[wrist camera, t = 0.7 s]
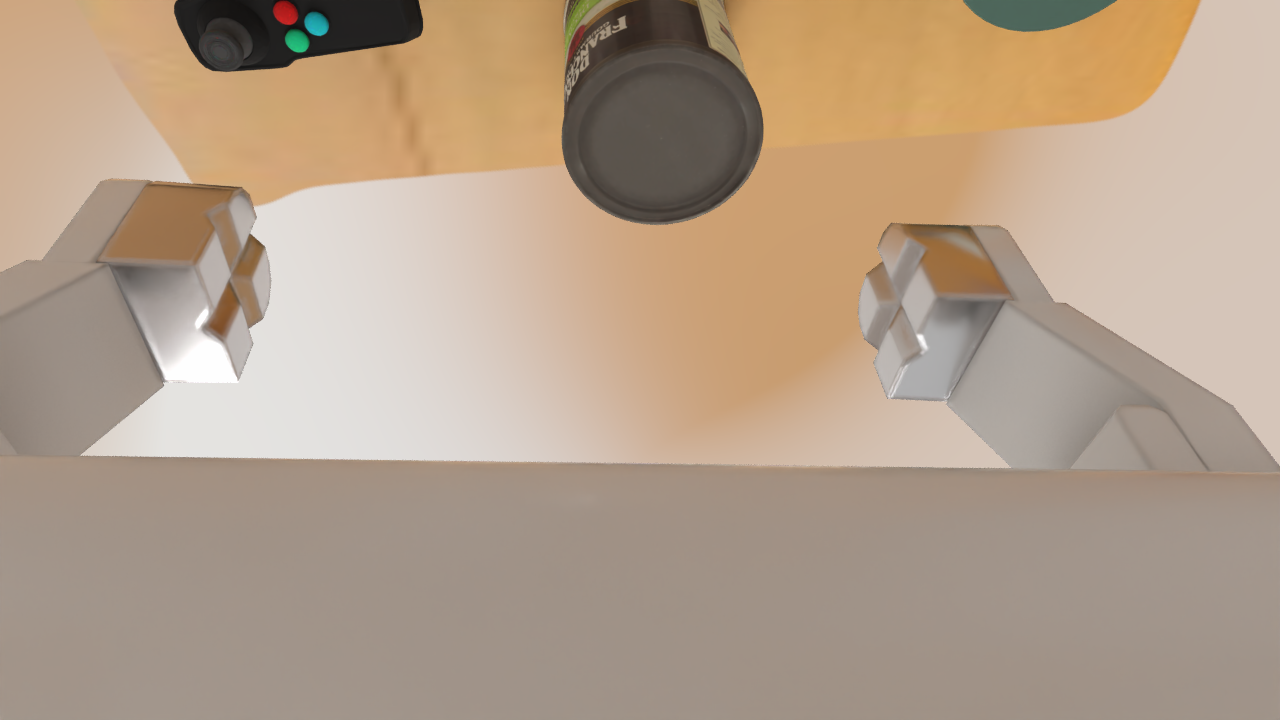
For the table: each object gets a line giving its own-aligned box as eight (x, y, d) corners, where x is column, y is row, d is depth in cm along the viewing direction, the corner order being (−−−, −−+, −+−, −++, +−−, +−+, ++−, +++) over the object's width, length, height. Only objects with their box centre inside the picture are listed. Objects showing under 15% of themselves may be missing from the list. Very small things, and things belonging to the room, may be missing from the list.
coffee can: (535, 57, 51) (527, 179, 42) (613, -97, 45) (626, 4, 35) (669, 126, 56) (692, 252, 46) (758, -6, 49) (805, 106, 40)
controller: (207, -58, 45) (143, 15, 38) (421, -84, 45) (396, -15, 38) (241, 18, 48) (187, 98, 41) (442, -6, 48) (421, 70, 41)
